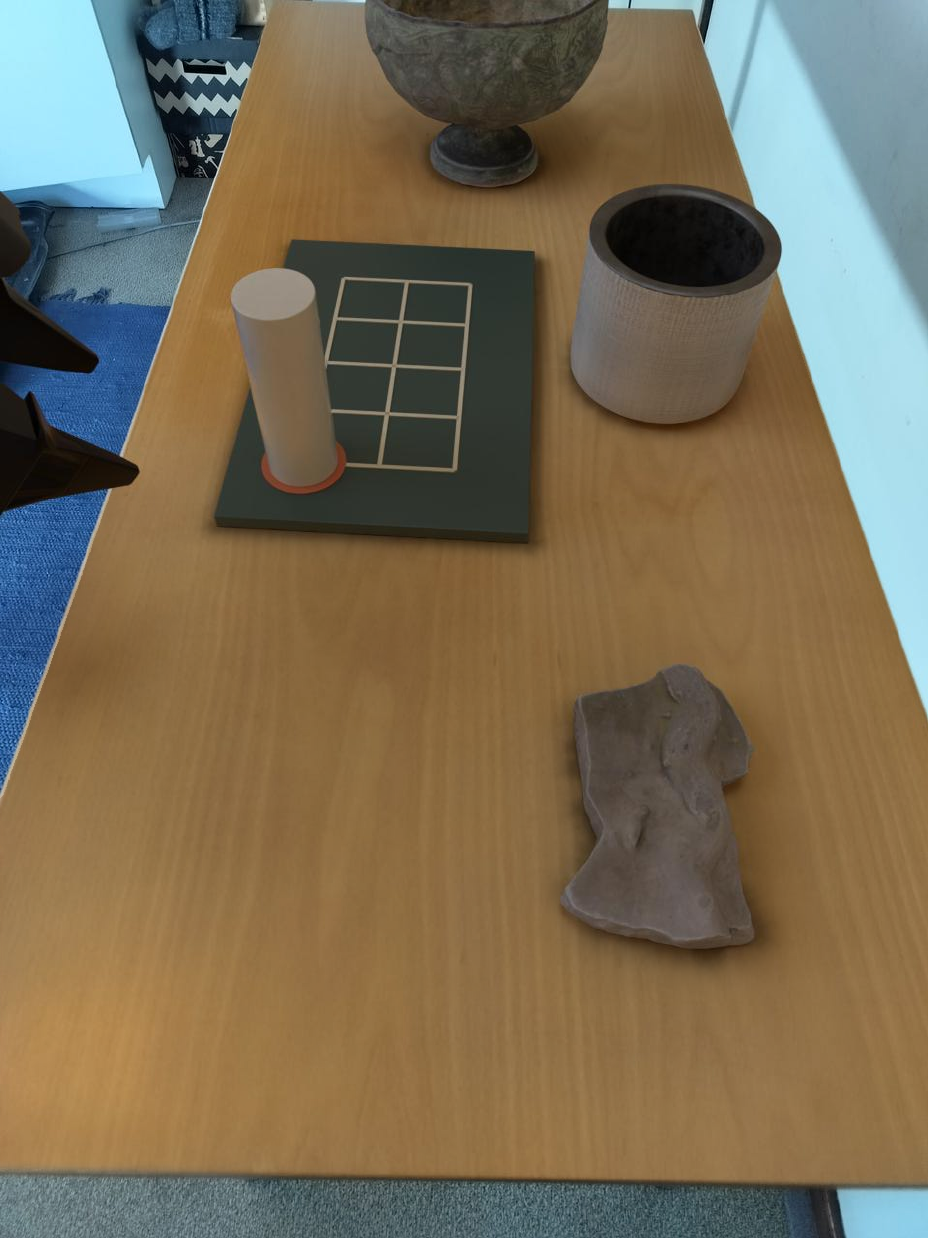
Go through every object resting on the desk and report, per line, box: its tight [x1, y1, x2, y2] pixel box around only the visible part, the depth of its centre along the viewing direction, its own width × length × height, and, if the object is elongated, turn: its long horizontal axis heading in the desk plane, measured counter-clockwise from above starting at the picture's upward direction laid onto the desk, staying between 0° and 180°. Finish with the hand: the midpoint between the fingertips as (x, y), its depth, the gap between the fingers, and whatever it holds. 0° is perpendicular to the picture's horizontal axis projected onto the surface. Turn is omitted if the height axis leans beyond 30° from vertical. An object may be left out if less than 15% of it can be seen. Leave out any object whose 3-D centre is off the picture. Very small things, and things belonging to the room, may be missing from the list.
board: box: [213, 238, 536, 544], centre depth 67 cm, size 20×30×1 cm, turn 177°
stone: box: [559, 663, 755, 949], centre depth 46 cm, size 15×10×4 cm, turn 173°
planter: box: [569, 183, 783, 425], centre depth 63 cm, size 13×13×11 cm
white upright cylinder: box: [230, 267, 338, 487], centre depth 55 cm, size 5×5×13 cm
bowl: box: [364, 0, 610, 188], centre depth 78 cm, size 20×19×15 cm
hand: (114, 417), depth 49 cm, fingers open, 9 cm apart
